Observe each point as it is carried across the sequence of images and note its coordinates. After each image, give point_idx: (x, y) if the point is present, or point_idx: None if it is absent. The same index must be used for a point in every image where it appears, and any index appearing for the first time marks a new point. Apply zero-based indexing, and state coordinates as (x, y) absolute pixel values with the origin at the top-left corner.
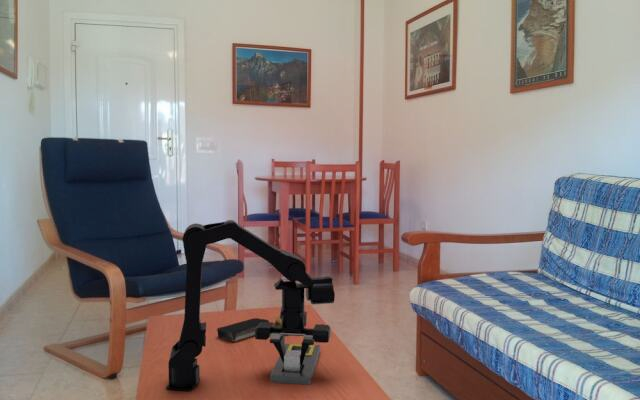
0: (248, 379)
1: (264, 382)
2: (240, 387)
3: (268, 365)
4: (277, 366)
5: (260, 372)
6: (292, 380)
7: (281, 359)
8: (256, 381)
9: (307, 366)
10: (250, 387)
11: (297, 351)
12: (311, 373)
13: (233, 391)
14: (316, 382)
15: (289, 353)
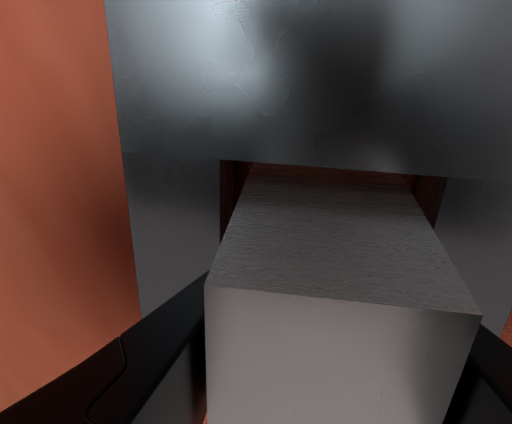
0: (11, 279)
1: (129, 317)
2: (19, 365)
3: (41, 9)
4: (158, 228)
5: (38, 171)
6: None
7: (150, 38)
8: (73, 304)
9: (476, 220)
10: (72, 367)
11: (393, 345)
12: (494, 333)
13: (8, 398)
14: (507, 323)
15: (267, 398)
